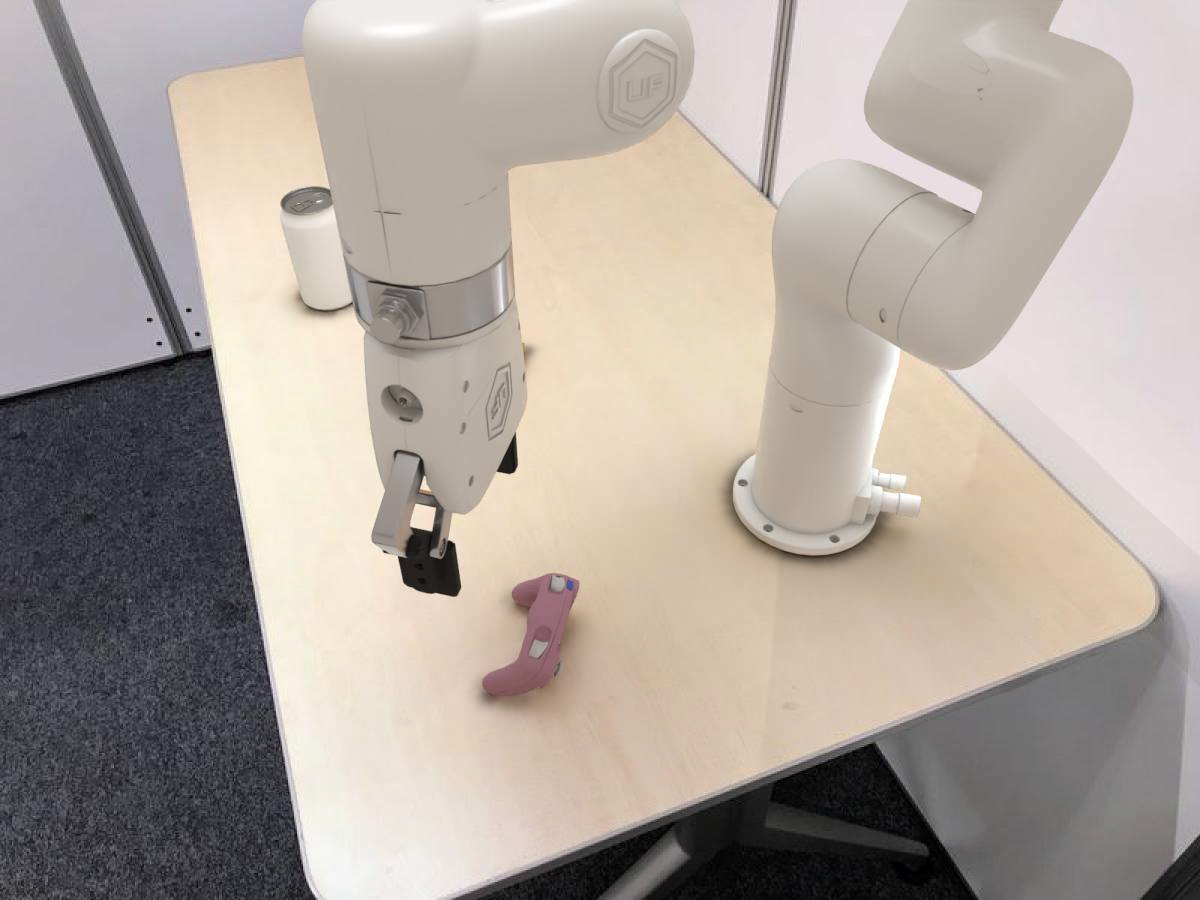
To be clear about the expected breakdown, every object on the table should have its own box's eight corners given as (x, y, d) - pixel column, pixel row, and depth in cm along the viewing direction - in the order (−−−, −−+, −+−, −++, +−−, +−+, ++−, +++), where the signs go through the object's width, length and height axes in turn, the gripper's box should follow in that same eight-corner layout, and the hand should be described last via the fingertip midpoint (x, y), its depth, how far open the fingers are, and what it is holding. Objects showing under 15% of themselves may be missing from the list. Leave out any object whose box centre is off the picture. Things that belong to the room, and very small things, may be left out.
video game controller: (530, 718, 72) (568, 679, 67) (474, 694, 71) (509, 653, 67) (560, 611, 79) (596, 569, 74) (510, 588, 78) (543, 544, 73)
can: (372, 293, 108) (352, 198, 100) (325, 320, 105) (299, 223, 97) (338, 271, 111) (315, 177, 103) (290, 296, 108) (263, 200, 100)
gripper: (438, 409, 38) (473, 660, 50) (563, 195, 50) (567, 438, 62) (264, 376, 39) (339, 628, 51) (427, 176, 51) (457, 417, 63)
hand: (464, 523), depth 56 cm, fingers open, 9 cm apart
